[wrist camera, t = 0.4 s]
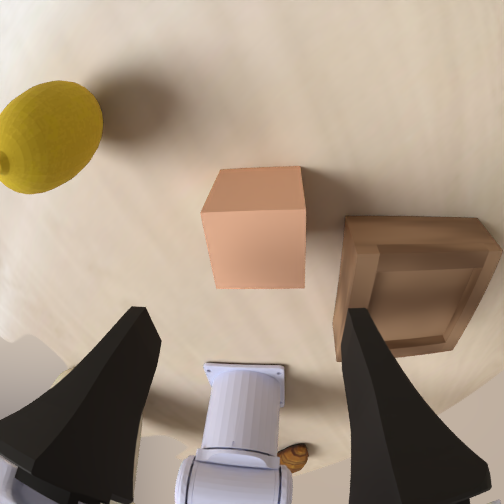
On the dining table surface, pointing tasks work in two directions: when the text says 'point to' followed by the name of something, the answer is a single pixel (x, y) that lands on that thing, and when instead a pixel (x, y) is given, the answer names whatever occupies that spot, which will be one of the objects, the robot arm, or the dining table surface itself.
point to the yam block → (256, 228)
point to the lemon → (48, 136)
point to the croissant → (294, 457)
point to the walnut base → (414, 278)
